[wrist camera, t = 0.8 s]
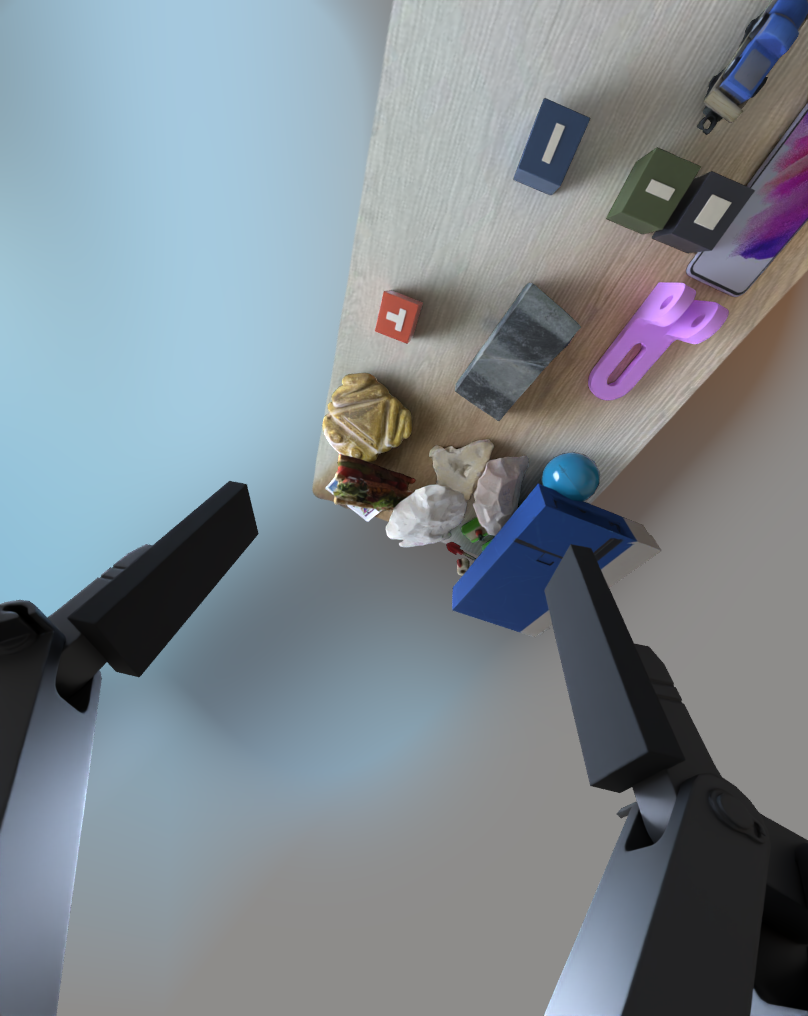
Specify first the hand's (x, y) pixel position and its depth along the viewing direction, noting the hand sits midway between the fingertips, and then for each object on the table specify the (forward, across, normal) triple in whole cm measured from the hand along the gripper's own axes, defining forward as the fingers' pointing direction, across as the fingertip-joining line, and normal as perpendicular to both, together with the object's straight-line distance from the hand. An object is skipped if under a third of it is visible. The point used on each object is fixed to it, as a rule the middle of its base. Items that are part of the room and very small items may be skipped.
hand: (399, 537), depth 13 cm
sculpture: (+38, -8, -6) cm, 39 cm away
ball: (+38, +24, -17) cm, 48 cm away
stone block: (+40, +9, +1) cm, 41 cm away
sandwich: (+37, -10, -18) cm, 42 cm away
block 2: (+40, +17, +17) cm, 47 cm away
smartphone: (+40, +30, +18) cm, 53 cm away
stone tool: (+37, +12, -12) cm, 41 cm away
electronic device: (+31, +26, -17) cm, 43 cm away
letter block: (+40, -7, +4) cm, 41 cm away
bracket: (+40, +23, +4) cm, 47 cm away
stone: (+40, +4, -17) cm, 44 cm away
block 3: (+40, +22, +16) cm, 48 cm away
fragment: (+37, 0, -25) cm, 45 cm away
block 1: (+40, +6, +20) cm, 45 cm away
